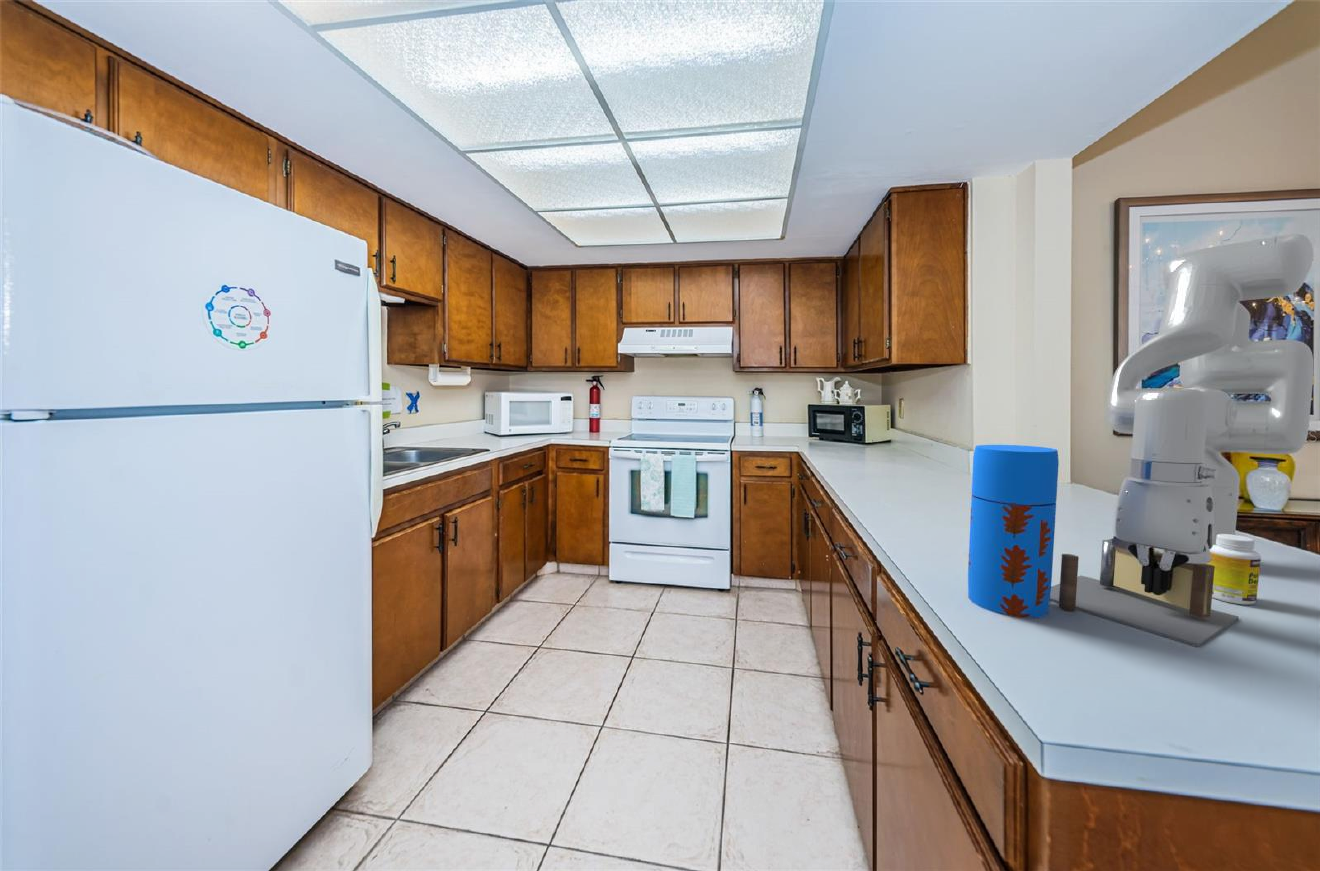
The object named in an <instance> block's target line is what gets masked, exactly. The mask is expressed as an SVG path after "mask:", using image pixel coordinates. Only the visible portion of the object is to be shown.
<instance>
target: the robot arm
mask: <svg viewBox="0 0 1320 871" xmlns="http://www.w3.org/2000/svg"><path fill="white" fill-rule="evenodd" d="M1313 261H1314V248H1313V244H1312V242H1311V240H1310V239H1309V238H1308V236H1305V235H1304V234H1301V233H1295V234H1287V235H1279V236H1272V237H1267V238H1261V239H1254V240H1249V241H1243V242H1237V243H1236V242H1235V243H1229V244H1221V245H1217V246H1211V247H1205V248H1200V249H1199V248H1198V249H1195V250H1191V251H1187V252H1184V253H1181V254H1178V255H1176V256H1173V257H1171V258H1170V259H1169V260H1167V262H1166V263H1165V264H1164V266H1163V270H1162V278H1163V279H1162V280H1163V283H1164V286H1165V289H1166V296H1165V301H1164V305H1163V311H1162V314H1161V319H1160V325H1159V330H1158V333H1156V335H1154V336H1153V337H1151V338H1149V339H1148V340H1147V341H1145V342H1144V343H1142V344H1140V345H1139V346H1138V347H1137V348H1135V349H1134V350H1133V351H1132V352H1131V353H1130V354H1129V355H1128V356H1126V357H1125V358H1124V360H1123V361H1121V363H1120V364H1119V365H1118V367H1117V369H1116V370H1115V372H1114V374H1113V377H1112V379H1111V384H1110V389H1109V391H1108V396H1107V400H1106V404H1105V405H1106V407H1105V420H1106V423H1107V425H1108V426H1109V427H1110V429H1111V430H1113V431H1115V432H1117V433H1120V434H1125V435H1127V434H1128V435H1132V442H1131V454H1130V455H1131V456H1130V458H1131V459H1130V470H1129V471H1130V472H1129V476H1127V477H1125V478H1124V479H1123V481H1122V483H1121V486H1120V489H1119V493H1118V497H1117V500H1116V505H1115V510H1114V514H1113V521H1112V522H1113V524H1112V532H1113V537H1112V539H1113V540H1112V543H1113V544H1114V545H1115V546H1118V547H1120V548H1123V549H1125V550H1129V551H1130V552H1131V553H1132V554H1133V555H1134V556H1135V557H1136V558H1137V559H1138V561H1139V563H1140V564H1141V565H1142V575H1141V584H1143V585H1145V589H1144V591H1145V592H1147V593H1154V594H1155V595H1162V594H1164V593H1166V592H1167V591H1169V590H1171V587H1172V578H1173V568H1175V567H1177V566H1180V565H1182V564H1184V563H1196V564H1207V563H1209V562H1211V561H1212V558H1211V554H1210V550H1209V549H1211V548H1212V547H1213V545H1217V544H1216V538H1217V535H1218V534H1231V535H1236V527H1237V518H1238V516H1237V515H1238V505H1239V504H1238V503H1239V496H1240V495H1239V493H1240V482H1241V477H1240V475H1239V474H1240V473H1239V472H1238V470H1237V468H1235V466H1234V465H1233V464H1232V463H1231V462H1229V460H1227V459H1226V458H1225V457H1224V456H1223V455H1222V454H1221V453H1247V454H1263V455H1289V454H1290V455H1291V454H1295V453H1297V452H1299V451H1300V450H1302V449H1303V448H1304V446H1305V444H1306V442H1307V440H1308V436H1309V435H1308V434H1309V429H1310V428H1309V427H1310V417H1311V416H1310V415H1311V407H1312V406H1311V405H1312V395H1313V394H1312V393H1313V384H1314V383H1313V381H1314V357H1313V355H1314V354H1313V353H1312V352H1313V351H1312V350H1311V348H1310V346H1309V345H1307V344H1306V343H1304V342H1302V341H1300V340H1296V339H1271V340H1270V339H1269V340H1254V341H1253V340H1251V339H1250V336H1249V335H1250V327H1251V326H1250V325H1251V313H1250V312H1249V310H1248V309H1247V308H1246V307H1245V306H1244V305H1243V304H1242V303H1240V302H1243V301H1251V300H1261V299H1273V298H1280V297H1281V298H1282V297H1286V296H1287V297H1288V296H1290V295H1293V294H1295V293H1296V292H1298V291H1299V290H1300V288H1302V286H1303V284H1304V283H1305V281H1306V280H1307V277H1308V275H1309V272H1310V270H1311V268H1312V266H1313ZM1178 363H1179V382H1180V386H1181V387H1182V388H1180V387H1178V388H1177V387H1171V388H1169V387H1163V388H1162V387H1161V388H1159V387H1157V388H1156V387H1155V388H1137V386H1138V384H1139V383H1140V382H1141V381H1142V380H1144V379H1145V378H1147V377H1148V376H1150V375H1151V374H1153V373H1155V372H1157V371H1160V370H1162V369H1164V368H1166V367H1169V366H1173V365H1176V364H1178ZM1229 394H1230V395H1232V394H1235V395H1236V394H1247V395H1248V394H1252V395H1253V394H1261V395H1265V396H1267V397H1269V398H1270V401H1269V400H1266V401H1265V400H1261V401H1260V400H1259V401H1258V400H1255V401H1254V400H1253V401H1252V400H1249V401H1248V400H1234V399H1233V398H1232V397H1231V396H1230V395H1229ZM1155 552H1159V553H1163V555H1162V558H1161V562H1160V564H1157V561H1156V553H1155Z"/></svg>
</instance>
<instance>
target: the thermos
mask: <svg viewBox="0 0 1320 871" xmlns="http://www.w3.org/2000/svg"><path fill="white" fill-rule="evenodd" d="M973 452H974V453H973V458H972V475H971V476H972V478H971V499H970V500H971V501H970V504H971V505H970V521H969V522H970V524H969V525H970V526H969V542H968V544H969V545H968V547H969V548H968V568H967V586H968V587H967V589H968V590H967V591H968V592H967V593H968V599H969V600H970V601H971V602H972V603H973V604H974V605H976V606H978V607H980V608H982V609H985V610H986V611H990V612H992V613H993V612H994V613H996V614H999V615H1004V616H1008V617H1015V618H1030V619H1031V618H1032V619H1035V618H1041V617H1042V618H1043V617H1044V616H1046V615H1047V614H1048V613H1049V607H1050V602H1051V601H1050V593H1051V587H1052V581H1053V580H1052V579H1053V565H1054V564H1053V562H1054V546H1055V530H1056V528H1055V527H1056V511H1057V496H1058V495H1057V494H1058V483H1059V482H1058V481H1059V480H1058V479H1059V464H1060V463H1059V462H1060V461H1059V453H1058V449H1056V448H1051V447H1044V446H1036V445H1035V446H1034V445H1033V446H1032V445H1022V444H1021V445H1016V444H980V445H979V444H978V445H975V447H974V451H973Z"/></svg>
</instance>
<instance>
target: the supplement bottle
mask: <svg viewBox="0 0 1320 871" xmlns="http://www.w3.org/2000/svg"><path fill="white" fill-rule="evenodd" d="M1216 544H1217V545H1213V547H1212V548H1211V549H1209V550H1210V554H1211V558H1212V561H1211V562H1209V563H1207V564H1208V565H1212V566H1215V569H1214V580H1213V592H1212V599H1216V600H1217V601H1222V602H1226V603H1230V604H1236V605H1245V606H1246V605H1253V604H1256V602H1257V597H1258V588H1259V580H1260V571H1261V569H1260V567H1261V561H1262V560H1261V559H1262V558H1261V557H1262V556H1261V554H1260V553H1259V552H1258V551H1255V550H1254V549H1255V539H1254V538H1251V537H1247V536H1245V535H1244V536H1243V535H1236V534H1235V535H1231V534H1218V535H1217V538H1216Z"/></svg>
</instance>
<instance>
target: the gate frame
mask: <svg viewBox="0 0 1320 871" xmlns="http://www.w3.org/2000/svg"><path fill="white" fill-rule="evenodd" d="M1109 540H1111V541H1112V540H1113V538H1110V539H1109ZM1060 560H1061V562H1060V577H1059V578H1060V580H1059V583H1057V584H1055V585H1053V586H1052V585H1051V593H1050V601H1049V602H1052V603H1055V604H1058V608H1059V609H1061V610H1063V611H1067V612H1076V610H1078V611H1081V612H1085V613H1087V614H1091V615H1094V616H1096V617H1097V616H1098V617H1100V618H1104V619H1107V620H1110V621H1113V622H1116V623H1119V624H1123V625H1125V626H1126V625H1127V626H1129V627H1132V628H1136V629H1139V630H1142V631H1146V632H1149V633H1151V634H1154V635H1159V636H1162V637H1164V638H1168V639H1170V640H1174V641H1177V642H1180V643H1184V644H1186V645H1187V644H1188V645H1190V646H1193V647H1197V648H1199V647H1200V646H1202V645H1204V644H1205V643H1206V642H1208V641H1209V640H1210V639H1212V638H1213V637H1215V636H1216V635H1218V634H1220V633H1221V632H1222V631H1224V630H1225V629H1227V628H1228V627H1230V626H1231V625H1232V624H1233V623H1235V622H1236V621H1238V620H1239V616H1238V615H1235V614H1231V613H1227V612H1222V611H1219V610H1215V609H1212V608H1211V614H1210V617H1205V618H1200V617H1197V616H1194V615H1191V614H1189V612H1190V610H1188V609H1185V608H1182V607H1179V606H1176V605H1173V604H1170V603H1167V602H1164V601H1160V600H1157V599H1154V598H1151V597H1148V596H1145V595H1142V594H1139V593H1136V592H1133V591H1129V590H1126V589H1123V588H1120V587H1117V586H1116V587H1106V586H1102V585H1100V579H1095V578H1092V577H1090V576H1085V575H1079V576H1078V572H1079V556H1078V555H1075V554H1071V553H1070V554H1069V553H1061V559H1060Z"/></svg>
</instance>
